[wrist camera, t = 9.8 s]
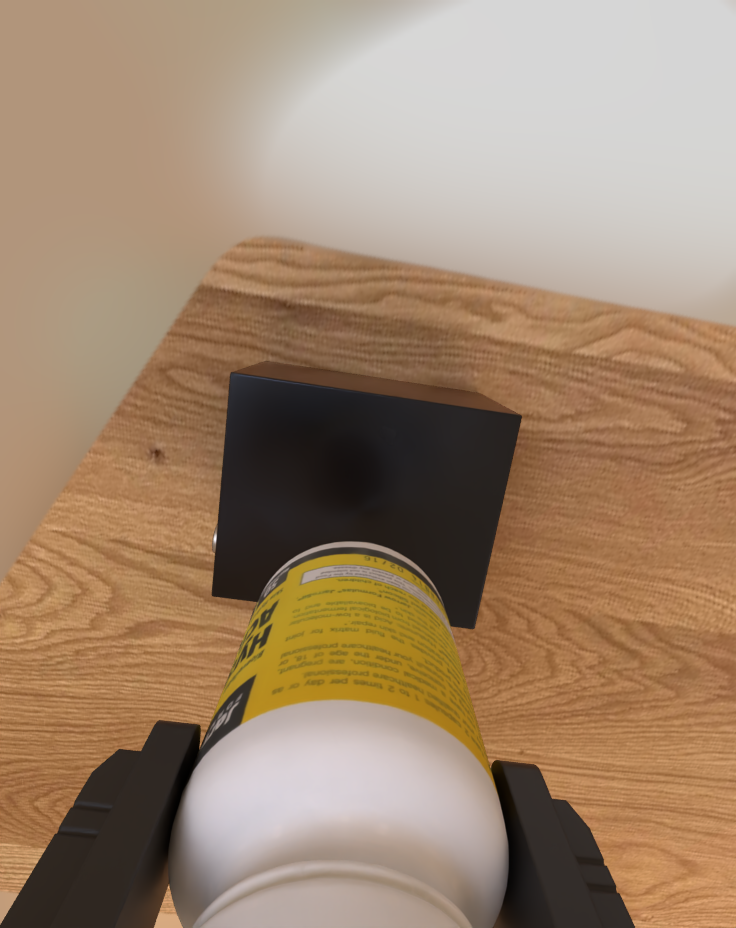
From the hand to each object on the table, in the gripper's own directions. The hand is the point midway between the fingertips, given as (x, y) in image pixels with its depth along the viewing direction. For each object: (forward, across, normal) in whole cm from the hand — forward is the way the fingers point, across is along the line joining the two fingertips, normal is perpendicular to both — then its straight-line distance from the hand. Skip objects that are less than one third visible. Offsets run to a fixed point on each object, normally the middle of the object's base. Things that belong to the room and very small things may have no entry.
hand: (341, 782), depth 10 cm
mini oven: (+21, 0, -1) cm, 21 cm away
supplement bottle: (+6, 0, 0) cm, 6 cm away
